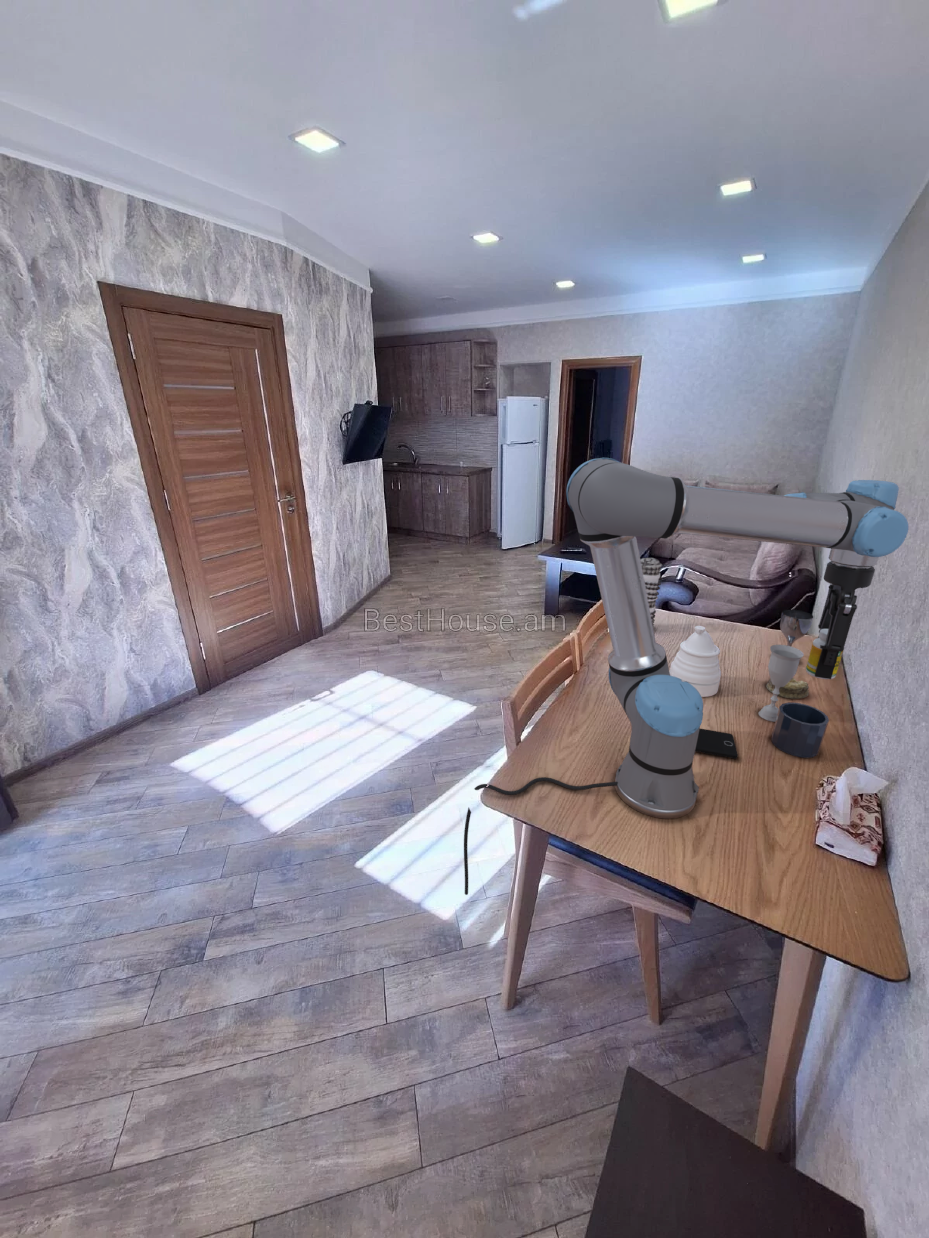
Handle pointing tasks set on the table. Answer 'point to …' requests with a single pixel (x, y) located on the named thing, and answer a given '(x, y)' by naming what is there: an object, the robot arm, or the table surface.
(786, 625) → the wine glass
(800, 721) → the cup
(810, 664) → the supplement bottle
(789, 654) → the chalice
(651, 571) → the decorative candle
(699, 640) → the honey pot
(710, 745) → the cell phone
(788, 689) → the cake
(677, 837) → the table surface
